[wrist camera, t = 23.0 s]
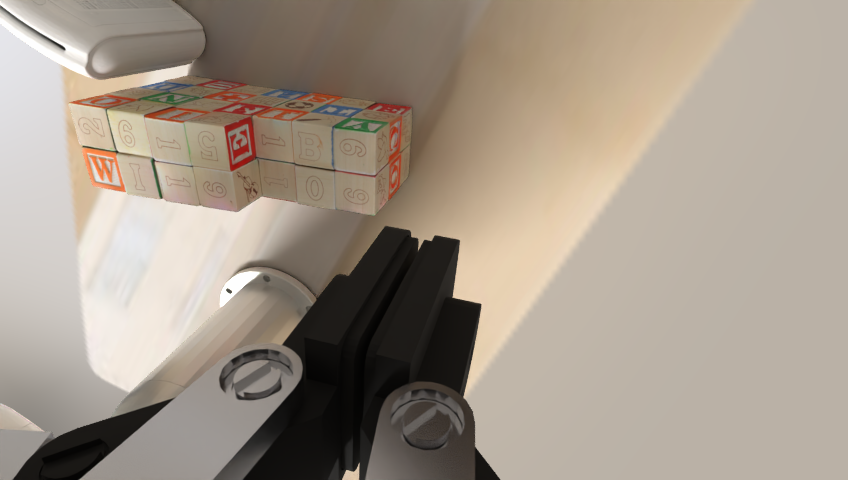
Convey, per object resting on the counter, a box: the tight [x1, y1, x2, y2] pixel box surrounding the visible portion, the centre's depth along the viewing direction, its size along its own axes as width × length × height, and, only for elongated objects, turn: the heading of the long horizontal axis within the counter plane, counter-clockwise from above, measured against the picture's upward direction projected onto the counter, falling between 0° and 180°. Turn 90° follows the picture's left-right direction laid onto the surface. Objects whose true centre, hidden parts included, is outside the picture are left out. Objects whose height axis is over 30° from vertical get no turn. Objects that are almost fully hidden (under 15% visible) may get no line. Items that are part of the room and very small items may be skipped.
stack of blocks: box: [69, 76, 412, 216], centre depth 37 cm, size 21×6×12 cm, turn 86°
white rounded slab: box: [0, 0, 206, 80], centre depth 35 cm, size 10×4×12 cm, turn 56°
